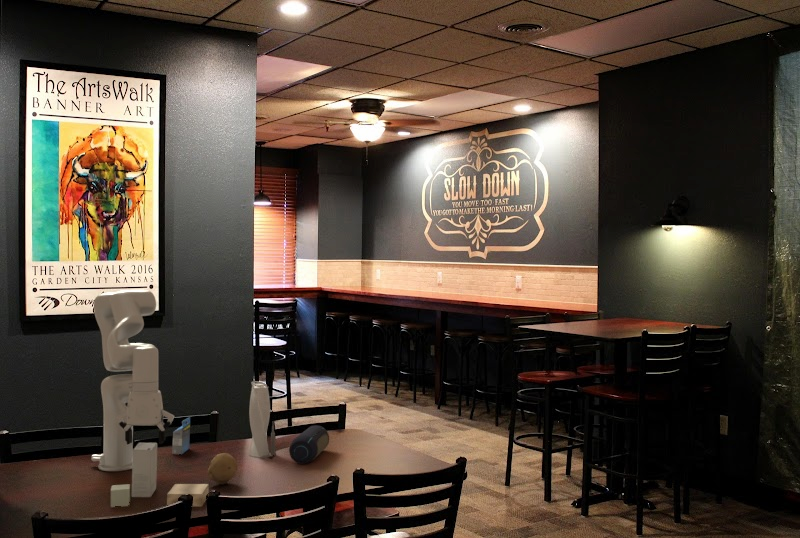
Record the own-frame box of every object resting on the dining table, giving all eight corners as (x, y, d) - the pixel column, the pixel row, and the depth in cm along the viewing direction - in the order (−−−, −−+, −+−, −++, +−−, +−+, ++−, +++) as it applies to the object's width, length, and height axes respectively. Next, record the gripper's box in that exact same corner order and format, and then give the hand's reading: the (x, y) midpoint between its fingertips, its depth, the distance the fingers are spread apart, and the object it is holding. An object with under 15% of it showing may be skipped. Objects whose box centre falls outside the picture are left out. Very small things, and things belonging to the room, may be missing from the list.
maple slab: (167, 507, 228) (167, 494, 228) (175, 497, 238) (175, 484, 238) (201, 507, 229) (201, 493, 229) (208, 497, 239) (208, 483, 239)
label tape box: (179, 448, 296) (179, 416, 296) (190, 448, 296) (190, 416, 296) (171, 454, 288) (172, 421, 287) (182, 454, 287) (183, 421, 287)
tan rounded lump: (243, 485, 250) (243, 453, 250) (218, 490, 244) (219, 458, 244) (227, 479, 257) (228, 448, 257) (203, 484, 251) (203, 453, 251)
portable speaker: (314, 467, 273) (314, 438, 273) (286, 465, 275) (286, 437, 274) (331, 450, 298) (331, 423, 298) (306, 448, 299) (306, 422, 299)
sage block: (110, 507, 227) (110, 490, 227) (111, 502, 232) (112, 485, 232) (129, 506, 228) (129, 489, 228) (129, 500, 233) (129, 484, 233)
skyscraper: (260, 460, 282) (261, 382, 282) (243, 457, 286) (244, 380, 286) (276, 455, 289) (277, 379, 289) (259, 452, 293) (260, 377, 293)
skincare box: (137, 489, 244) (138, 442, 244) (157, 489, 244) (157, 441, 244) (131, 498, 236) (131, 448, 235) (151, 497, 236) (152, 448, 236)
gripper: (112, 389, 235) (112, 446, 235) (170, 388, 236) (170, 446, 236) (120, 385, 243) (120, 440, 243) (177, 385, 243) (177, 440, 243)
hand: (145, 443), depth 239 cm, fingers open, 9 cm apart
